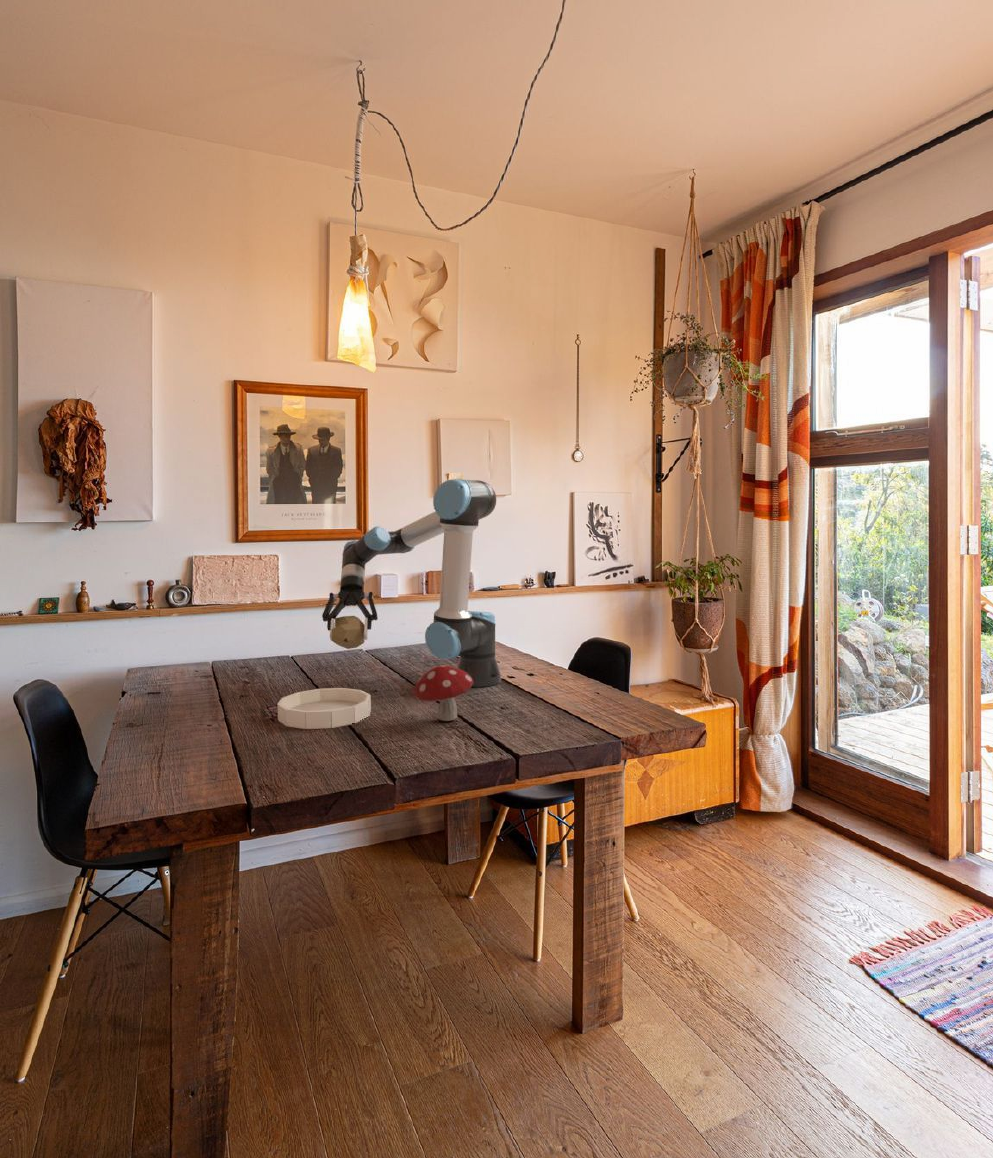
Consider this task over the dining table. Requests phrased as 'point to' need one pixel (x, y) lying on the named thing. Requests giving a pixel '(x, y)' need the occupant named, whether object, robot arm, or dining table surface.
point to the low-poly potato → (348, 632)
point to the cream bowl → (324, 708)
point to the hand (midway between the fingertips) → (348, 637)
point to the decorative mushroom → (443, 689)
